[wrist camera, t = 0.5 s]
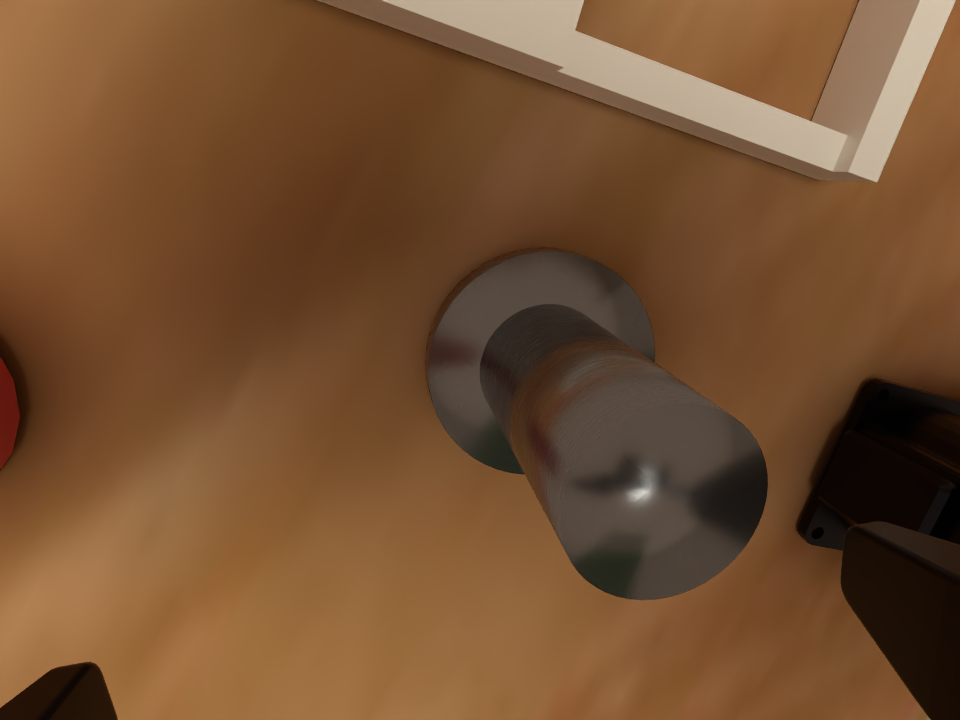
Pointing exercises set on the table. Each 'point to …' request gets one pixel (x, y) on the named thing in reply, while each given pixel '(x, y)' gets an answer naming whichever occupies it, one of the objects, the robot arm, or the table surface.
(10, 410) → the beer can
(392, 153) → the table surface
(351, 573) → the table surface
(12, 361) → the table surface
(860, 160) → the keyhole dock
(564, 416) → the dark grey rounded piece
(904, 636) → the robot arm
